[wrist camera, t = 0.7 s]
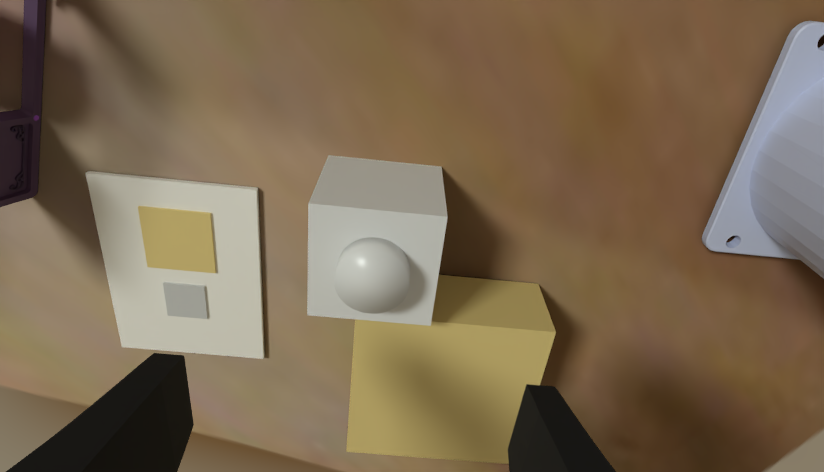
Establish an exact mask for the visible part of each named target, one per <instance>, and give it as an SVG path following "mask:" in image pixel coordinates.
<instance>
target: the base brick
mask: <svg viewBox="0 0 824 472" xmlns="http://www.w3.org/2000/svg"><path fill="white" fill-rule="evenodd" d="M555 334H556V331H555V328H554V325H553V323H552V320H551V317H550V314H549V312H548V309H547V306H546V304H545V301H544V298H543V295H542V293H541V290H540V287H539V285H538V284H534V283H523V282H512V281H502V280H491V279H480V278H469V277H459V276H448V275H438V282H437V288H436V295H435V301H434V308H433V314H432V320H431V326H427V325H415V324H404V323H392V322H381V321H369V320H358V319H355V332H354V347H353V361H352V376H351V391H350V406H349V421H348V435H347V450H346V452H357V453H371V454H384V455H397V456H410V457H423V458H436V459H449V460H462V461H476V462H489V463H502V464H509V459H508V446H509V443H510V439H511V436H512V432H513V429H514V425H515V422H516V418H517V415H518V412H519V408H520V405H521V401H522V398H523V394H524V391H525V387H526V384H529V385H540V383H541V380H542V377H543V373H544V370H545V367H546V364H547V360H548V357H549V354H550V351H551V347H552V344H553V341H554V337H555Z"/></svg>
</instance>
